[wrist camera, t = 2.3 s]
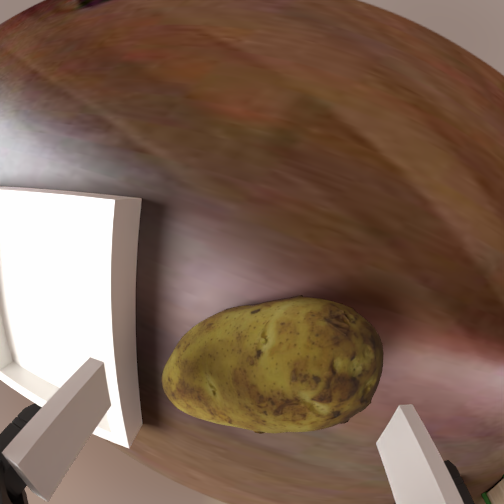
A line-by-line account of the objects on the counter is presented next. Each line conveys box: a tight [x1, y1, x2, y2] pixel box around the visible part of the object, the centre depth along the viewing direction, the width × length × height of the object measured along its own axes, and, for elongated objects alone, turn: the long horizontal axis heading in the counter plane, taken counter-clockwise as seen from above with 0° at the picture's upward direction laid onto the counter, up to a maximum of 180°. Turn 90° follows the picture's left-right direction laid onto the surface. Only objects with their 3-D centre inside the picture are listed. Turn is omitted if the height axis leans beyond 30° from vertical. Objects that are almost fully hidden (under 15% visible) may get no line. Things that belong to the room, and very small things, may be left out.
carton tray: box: [0, 186, 143, 448], centre depth 18 cm, size 20×18×4 cm
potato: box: [162, 295, 383, 434], centre depth 15 cm, size 8×13×8 cm, turn 95°
